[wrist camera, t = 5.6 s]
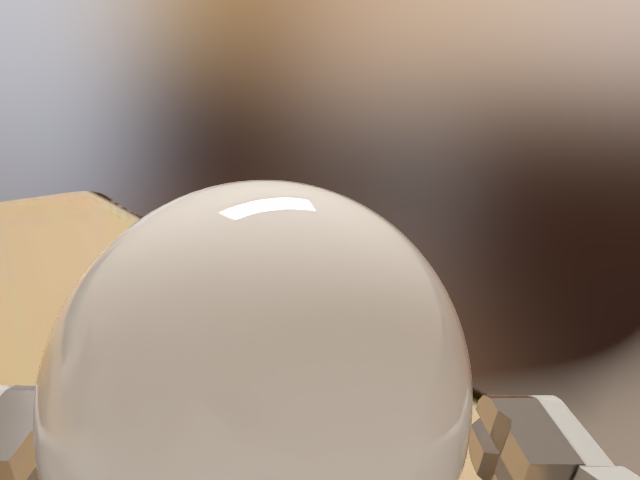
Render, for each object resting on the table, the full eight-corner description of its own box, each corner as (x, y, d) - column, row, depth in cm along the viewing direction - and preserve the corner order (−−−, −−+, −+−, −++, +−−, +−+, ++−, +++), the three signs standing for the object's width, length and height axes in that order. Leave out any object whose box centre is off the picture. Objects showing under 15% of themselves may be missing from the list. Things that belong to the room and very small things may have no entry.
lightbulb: (36, 776, 7) (-247, 227, 3) (208, 473, 13) (191, 135, 9) (375, 956, 6) (675, 440, 2) (401, 533, 12) (488, 170, 8)
